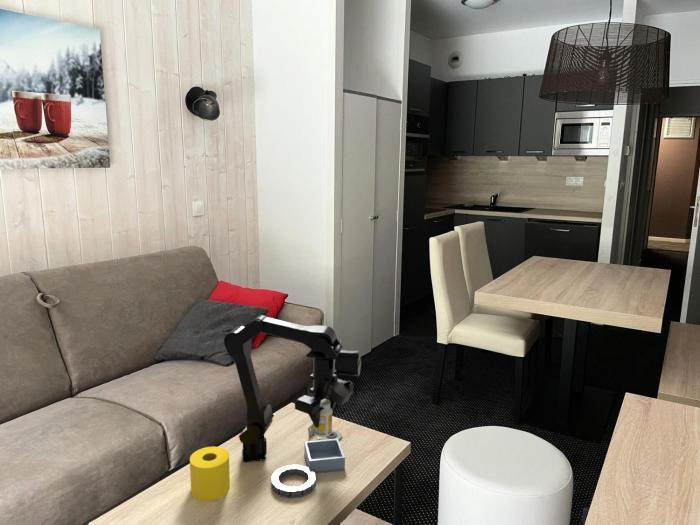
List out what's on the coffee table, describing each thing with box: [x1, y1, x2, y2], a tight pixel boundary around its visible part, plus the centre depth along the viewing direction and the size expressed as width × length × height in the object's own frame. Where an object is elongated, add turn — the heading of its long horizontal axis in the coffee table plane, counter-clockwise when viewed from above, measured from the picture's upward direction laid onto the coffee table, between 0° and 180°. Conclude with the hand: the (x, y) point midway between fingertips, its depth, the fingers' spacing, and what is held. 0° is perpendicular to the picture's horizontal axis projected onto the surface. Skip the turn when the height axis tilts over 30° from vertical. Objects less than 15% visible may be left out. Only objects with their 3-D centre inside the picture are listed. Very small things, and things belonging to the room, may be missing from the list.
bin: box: [303, 439, 346, 474], centre depth 157 cm, size 10×10×4 cm
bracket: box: [307, 423, 343, 441], centre depth 171 cm, size 7×10×4 cm, turn 67°
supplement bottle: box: [312, 399, 333, 437], centre depth 153 cm, size 5×5×10 cm
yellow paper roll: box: [189, 446, 231, 502], centre depth 142 cm, size 10×10×9 cm
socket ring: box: [270, 464, 317, 499], centre depth 146 cm, size 12×12×2 cm
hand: (322, 422), depth 153 cm, fingers closed on supplement bottle, 5 cm apart
